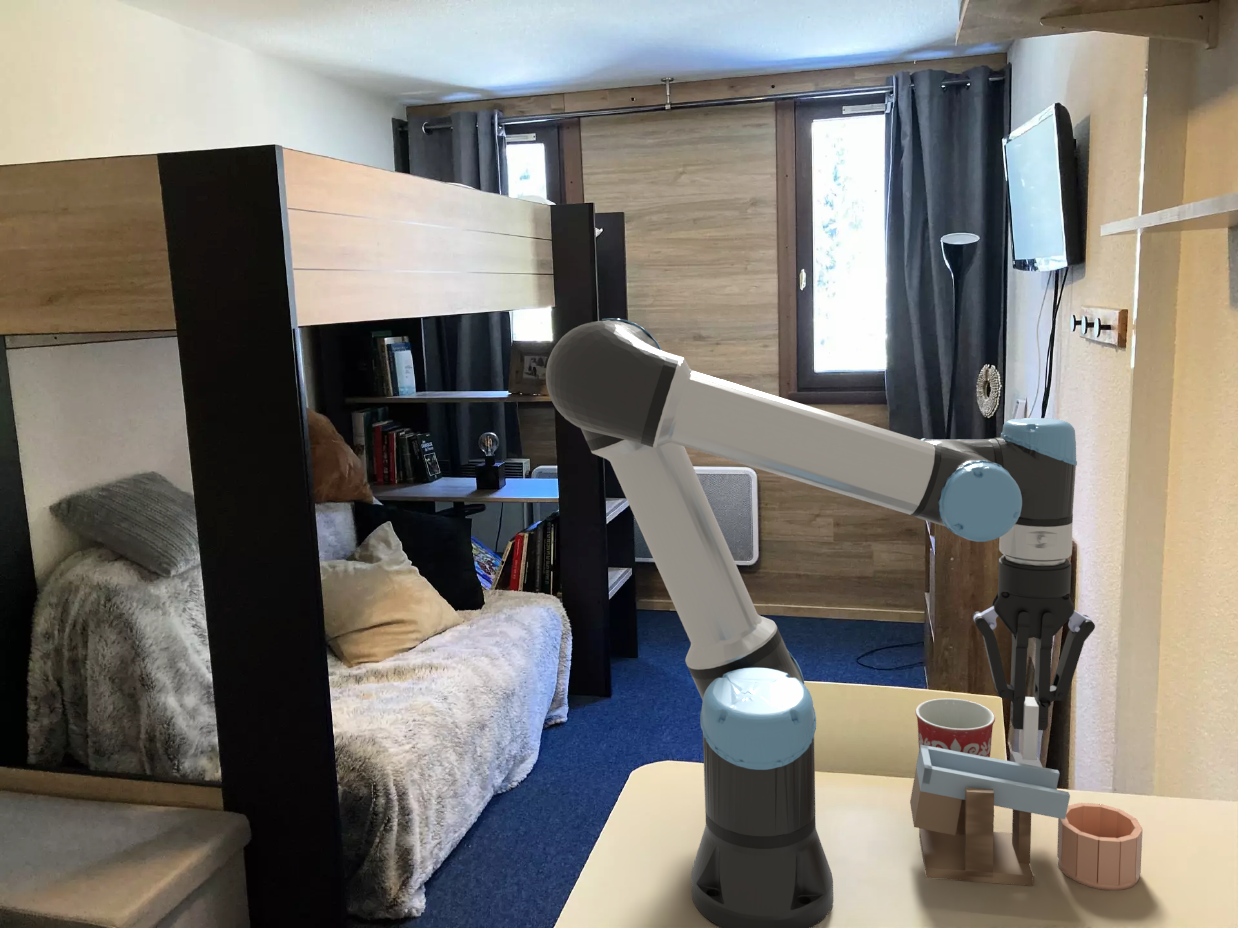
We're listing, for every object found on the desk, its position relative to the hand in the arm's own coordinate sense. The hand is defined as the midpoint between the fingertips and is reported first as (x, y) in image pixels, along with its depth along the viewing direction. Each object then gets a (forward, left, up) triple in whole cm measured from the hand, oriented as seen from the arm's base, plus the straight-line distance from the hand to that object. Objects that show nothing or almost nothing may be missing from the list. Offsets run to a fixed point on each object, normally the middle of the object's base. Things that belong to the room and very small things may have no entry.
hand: (1027, 754), depth 115 cm
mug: (-8, +5, -10) cm, 14 cm away
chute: (-6, -3, -6) cm, 9 cm away
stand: (-7, -6, -10) cm, 14 cm away
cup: (+6, -6, -10) cm, 13 cm away
